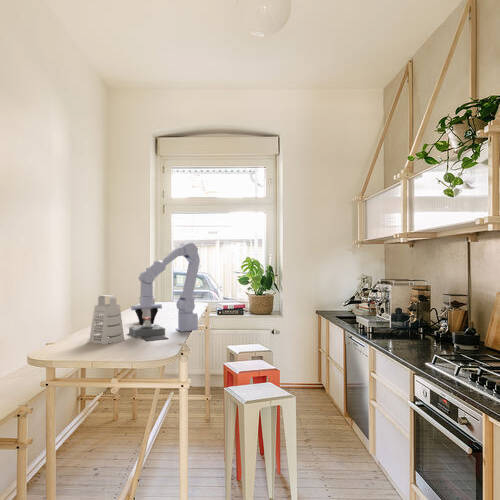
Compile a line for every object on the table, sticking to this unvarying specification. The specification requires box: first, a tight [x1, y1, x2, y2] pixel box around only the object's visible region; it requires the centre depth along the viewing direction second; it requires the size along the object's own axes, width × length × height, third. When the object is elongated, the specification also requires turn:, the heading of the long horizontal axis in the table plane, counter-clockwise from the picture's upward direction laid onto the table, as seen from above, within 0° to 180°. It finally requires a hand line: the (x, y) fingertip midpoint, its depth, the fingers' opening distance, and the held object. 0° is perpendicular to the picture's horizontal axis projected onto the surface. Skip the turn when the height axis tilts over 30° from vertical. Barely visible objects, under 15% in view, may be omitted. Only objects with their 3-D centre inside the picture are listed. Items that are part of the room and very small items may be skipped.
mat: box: [140, 335, 169, 342], centre depth 191 cm, size 10×10×1 cm
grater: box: [88, 294, 125, 345], centre depth 185 cm, size 10×10×20 cm
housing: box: [128, 323, 166, 338], centre depth 202 cm, size 14×12×3 cm
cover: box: [140, 317, 153, 329], centre depth 201 cm, size 5×5×7 cm
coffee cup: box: [138, 294, 157, 318], centre depth 240 cm, size 10×10×15 cm
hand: (146, 324), depth 201 cm, fingers closed on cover, 5 cm apart
